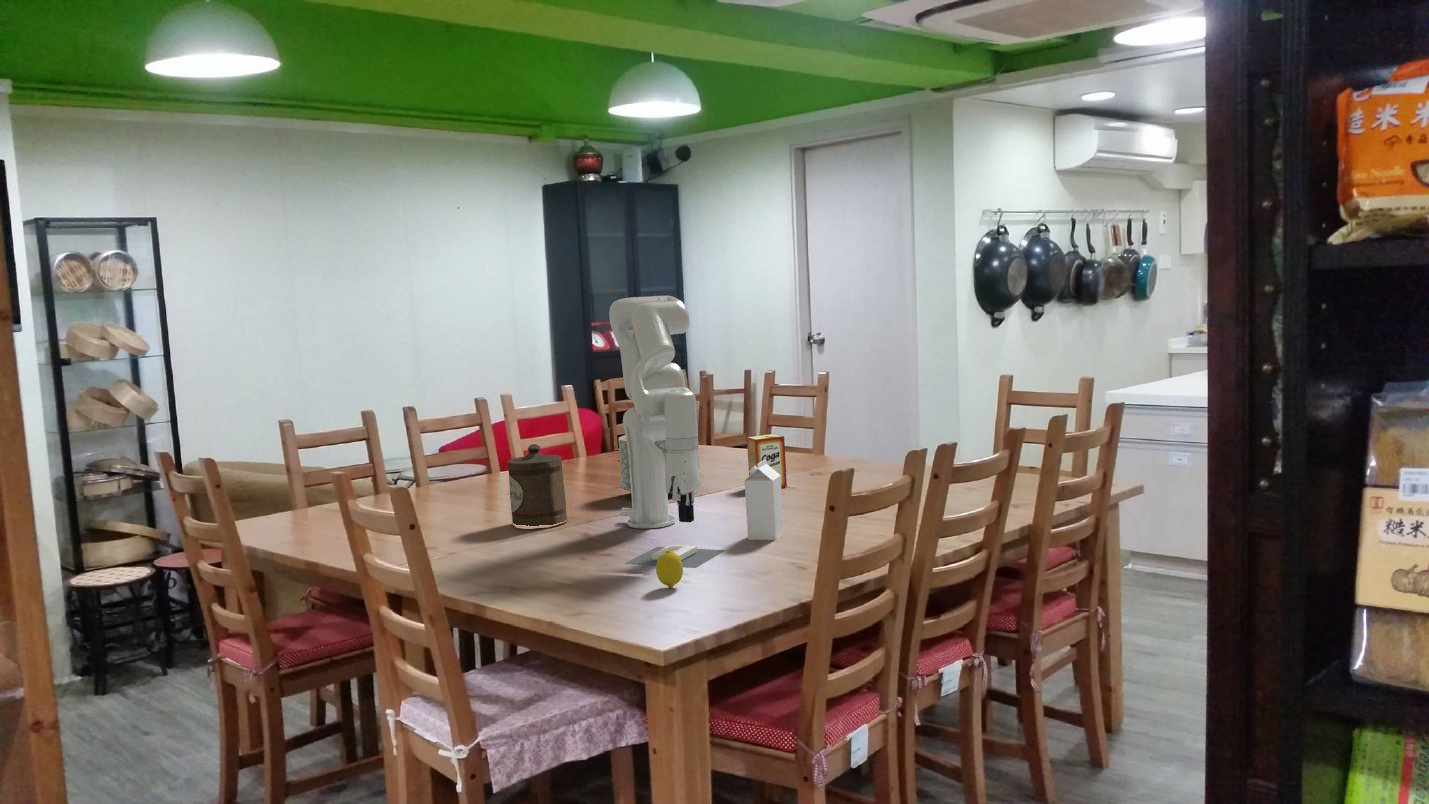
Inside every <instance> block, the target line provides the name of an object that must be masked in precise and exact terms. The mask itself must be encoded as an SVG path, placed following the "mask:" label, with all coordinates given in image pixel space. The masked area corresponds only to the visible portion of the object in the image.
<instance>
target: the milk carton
mask: <svg viewBox="0 0 1429 804" xmlns="http://www.w3.org/2000/svg"><path fill="white" fill-rule="evenodd" d="M749 472H750V473H751V475H750V476H749V475H748V476H747V478H746V479H745V480H744V492H745V493H744V494H745V510H746V512H745V513H746V529H747V531H746V532H747V540H751V541H753V540H755V541H756V540H759V541H777V540H778V539H779V538H781V536H784V533H785V531H784V514H783V513H784V512H783V496H782V493H783V492H782V488H781V475H780V474H778V473H777V472H776V471H775V470H774V469H772V468H771V467H770V466H769V465H768V464H767V463H766V459H765V460H763V461H761V462H760V463H758V464H757V467H756V466H754V467H753V468H751V469H750V470H749V469H748V473H749Z"/></svg>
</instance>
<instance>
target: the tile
mask: <svg viewBox="0 0 1429 804" xmlns="http://www.w3.org/2000/svg"><path fill="white" fill-rule="evenodd" d="M664 547H665V548H663V549H661V550H659V551H657V552H655V553H653V554H652V559H653V561H657V560H658V558H659V557H660V555H662V554H663V553H665V552H666V551H667V550H670V551H671V552H674V553H676V554H677V555H678V556H679V557H680V559H681V561H683V560H685V559H687V558H688V557H690V556H692V555H694V554H696V552H697V549H698V547H697V545H678V544H669V545H667V546H664Z"/></svg>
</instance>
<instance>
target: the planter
mask: <svg viewBox="0 0 1429 804" xmlns="http://www.w3.org/2000/svg"><path fill="white" fill-rule="evenodd" d="M654 444H655V445H656V446H657V447H658V448H659V449H660V450H661V452H662V453H663V455H664V457H665V462H666V453H667V451H666V440H659V441H655V442H654ZM618 451H619V452H618V453H619V454H618V455H619V466H620V479H621V480H620V482H621V483H620V484H621V489H622V490H623V491H627V492H630V493H631V480H630V466H629V454H628V446H627V440H626V436H625V435H622V436H620V437H618ZM667 495H668V496H669V494H667Z"/></svg>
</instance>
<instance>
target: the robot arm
mask: <svg viewBox="0 0 1429 804" xmlns="http://www.w3.org/2000/svg"><path fill="white" fill-rule="evenodd" d="M608 314H609V323H610V328H611V331H612V332H613V335H614V338H615V340H616V342H617V344H618V348H619V351H620V359H621V367H622V375H623V377H622V378H623V385H624V390H625V394H626V396H627V398H628V399H629V400H632V402H633V405H634V406H633V407H631V408H628V410H626V411H625V412H624V414H623V417H622V425H623V426H622V427H623V430H624V436H626V440H627V446H628V454H629V466H630V480H631V492H630V493H631V506H632V507H621V510H620V516H622V517H629V519H628V520H627V526H628V527H630V528H633V529H657V528H663V527H668V526H672V525H673V524H675V522H676V519H675V517H674V516H673V515H670V514H669V513H670V512H669V510H670V509H669V498H668V497H669V495H672V501H676V505H677V508H678V509H677V510H678V521H679V523H692V522H694V521H695V509H694V508H695V507H694V503H695V494H696V493H698V489H699V487H700V486H701V483H702V482H701V480H702V479H701V477H702V476H701V465H700V458H699V450H700V449H699V435H698V434H699V433H698V431H699V429H698V419H697V417H698V416H697V415H698V414H697V399H696V395H695V392H693V391H691V390H690V389H689V388H688V387H686V381H685V377H684V376H685V375H684V372H683V370H682V368H681V366H679V364H677V363H675V362H672V361H673V360H674V358H675V355H676V350H675V346H674V342H673V340H672V337H671V335H679V334H680V335H682V334H685V333H686V332H687V331H688V330H689V327H690V321H691V320H690V315H689V311H688V309H687V306H686V305H685V303H684V302H683V301H682V300H680V299H678V298H677V297H675V296H671V295H653V296H638V297H637V296H634V297H625V298H620V299H617V300H615V301H613V302H612V304H611V305H610V308H609V312H608ZM659 440H666V451H667V453H666V462H665V457H664V455H663V453H662V452H661V450H660V449H659V448H658V447H657V446H656V445H655V444H654V442H655V441H659ZM667 494H668V495H667Z"/></svg>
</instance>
